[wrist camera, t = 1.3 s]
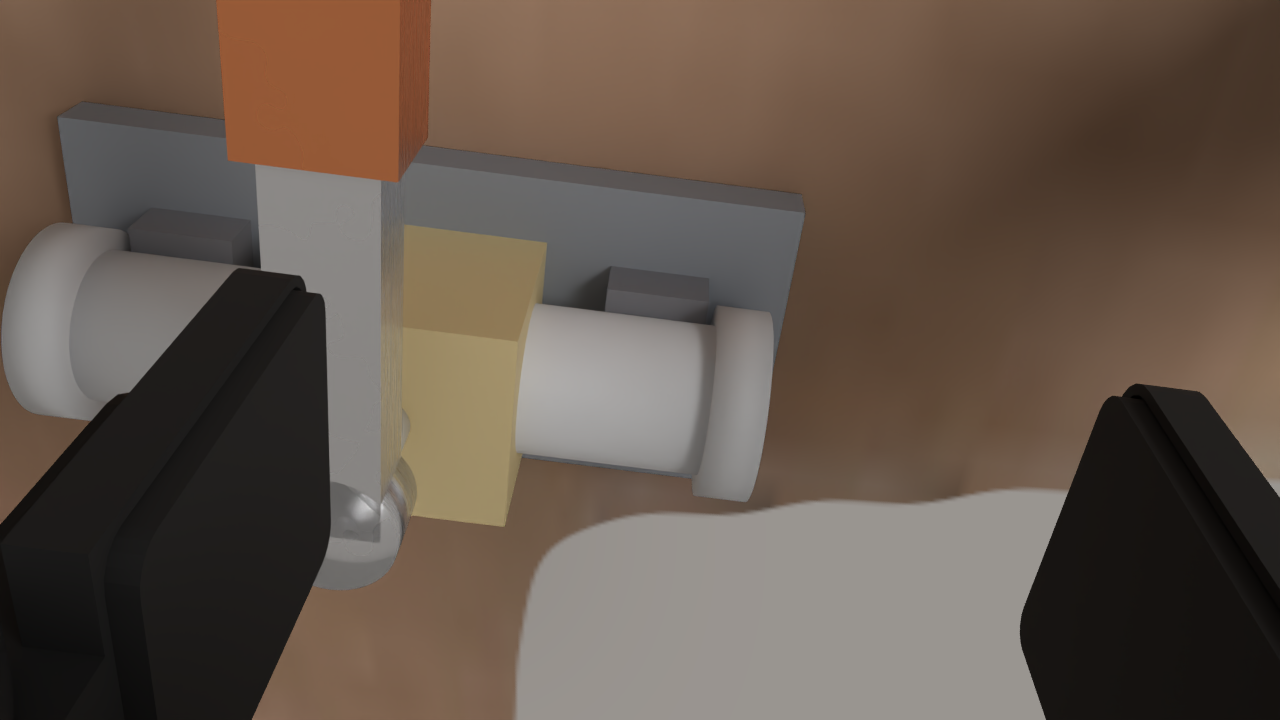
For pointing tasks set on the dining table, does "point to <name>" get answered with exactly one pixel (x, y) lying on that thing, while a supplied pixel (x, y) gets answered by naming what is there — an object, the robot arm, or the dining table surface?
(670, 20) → the dining table surface
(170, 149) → the valve base
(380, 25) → the valve lever
